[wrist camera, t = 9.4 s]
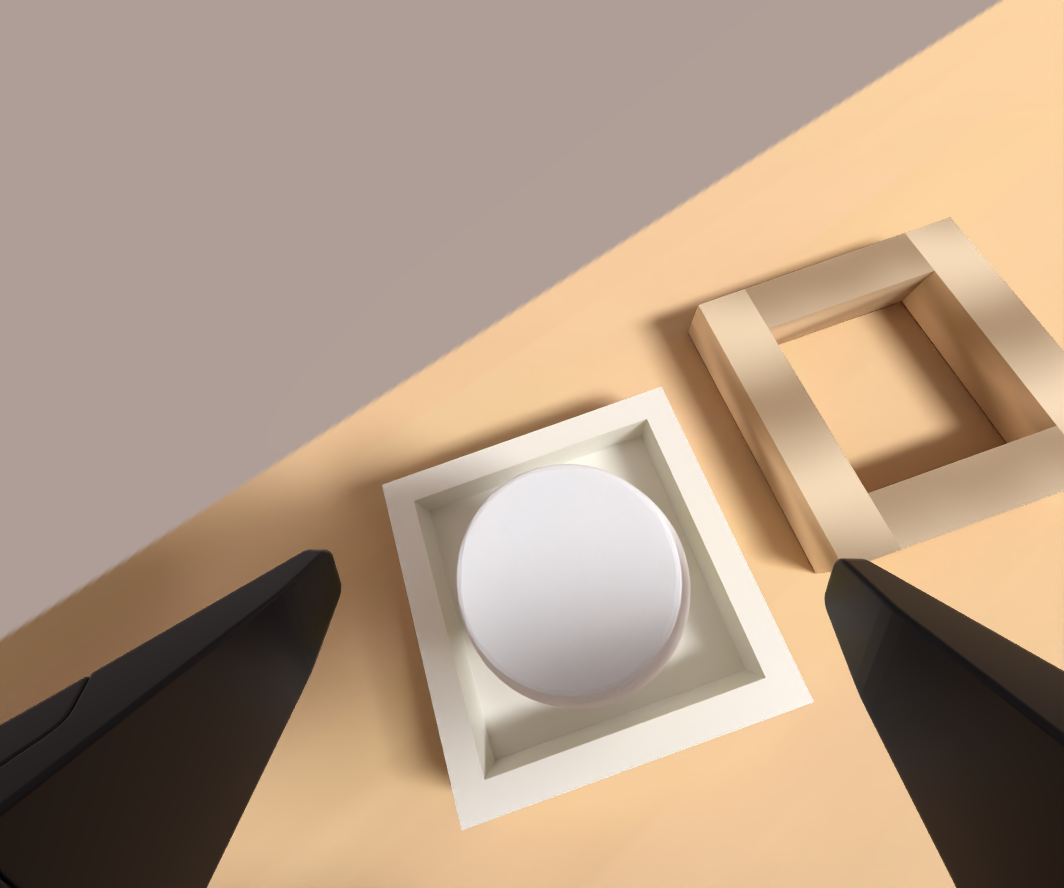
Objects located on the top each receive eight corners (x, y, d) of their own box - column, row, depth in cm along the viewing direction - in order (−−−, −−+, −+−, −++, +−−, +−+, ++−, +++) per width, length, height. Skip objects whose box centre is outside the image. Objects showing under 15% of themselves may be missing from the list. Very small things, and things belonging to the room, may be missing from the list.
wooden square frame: (1092, 473, 18) (1154, 458, 16) (816, 573, 17) (844, 569, 15) (917, 251, 21) (950, 217, 19) (687, 331, 21) (698, 304, 19)
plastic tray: (780, 687, 16) (813, 701, 14) (478, 797, 16) (461, 830, 14) (651, 412, 20) (661, 386, 18) (405, 499, 20) (382, 484, 17)
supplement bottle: (530, 496, 19) (481, 392, 9) (666, 540, 18) (762, 472, 8) (482, 635, 17) (367, 675, 8) (627, 692, 16) (691, 813, 7)
